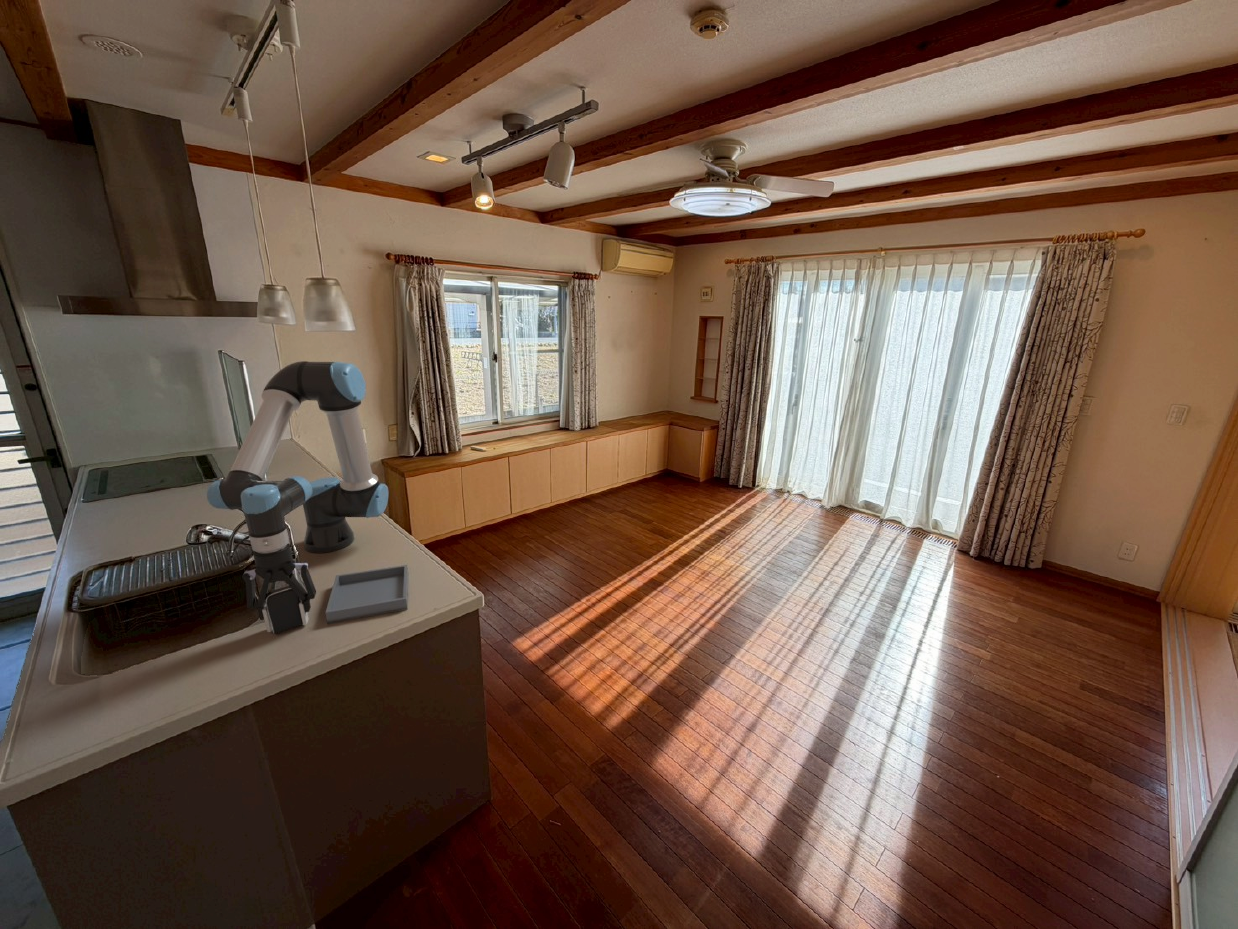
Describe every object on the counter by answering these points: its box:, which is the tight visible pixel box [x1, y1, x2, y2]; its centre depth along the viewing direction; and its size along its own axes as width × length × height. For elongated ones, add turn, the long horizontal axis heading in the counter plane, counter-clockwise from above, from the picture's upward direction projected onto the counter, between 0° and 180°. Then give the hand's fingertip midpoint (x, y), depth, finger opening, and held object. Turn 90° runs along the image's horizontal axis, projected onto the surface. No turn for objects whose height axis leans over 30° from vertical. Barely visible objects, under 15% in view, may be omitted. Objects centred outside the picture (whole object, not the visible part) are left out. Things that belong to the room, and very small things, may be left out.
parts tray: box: [325, 564, 409, 625], centre depth 140 cm, size 20×20×4 cm
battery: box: [265, 585, 304, 636], centre depth 125 cm, size 7×4×11 cm, turn 135°
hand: (288, 625), depth 126 cm, fingers closed on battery, 7 cm apart
